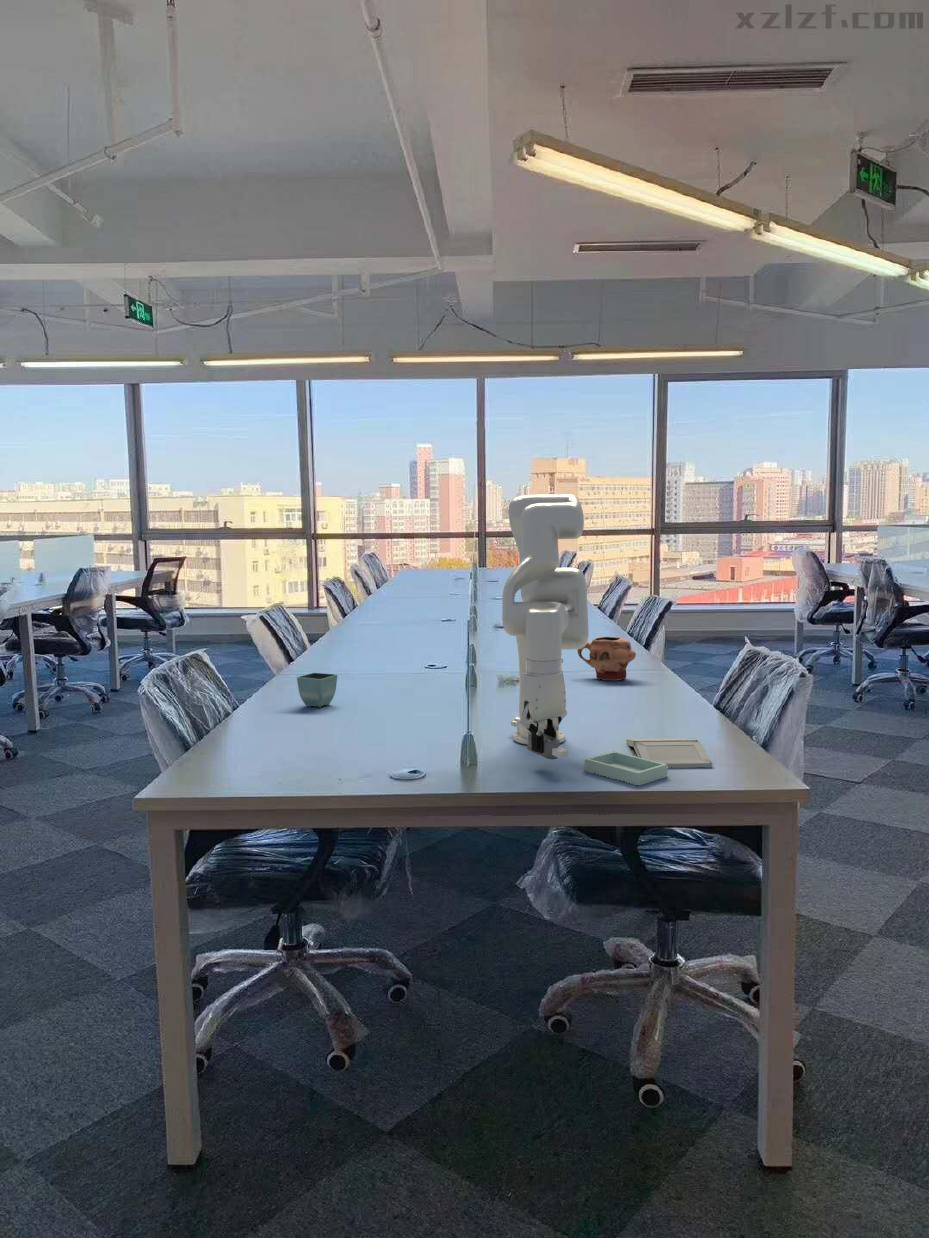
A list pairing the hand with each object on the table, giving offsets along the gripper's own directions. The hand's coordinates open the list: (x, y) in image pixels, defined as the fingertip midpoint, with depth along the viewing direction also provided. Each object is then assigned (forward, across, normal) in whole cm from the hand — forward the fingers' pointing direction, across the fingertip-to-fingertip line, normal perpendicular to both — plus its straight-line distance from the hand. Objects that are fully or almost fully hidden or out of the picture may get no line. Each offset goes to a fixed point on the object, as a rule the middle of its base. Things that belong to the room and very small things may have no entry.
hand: (543, 749), depth 190 cm
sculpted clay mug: (+11, -91, -63) cm, 111 cm away
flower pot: (+8, +2, -92) cm, 92 cm away
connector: (+1, 0, +1) cm, 1 cm away
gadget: (+6, -29, +10) cm, 31 cm away
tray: (+4, -10, +14) cm, 18 cm away
